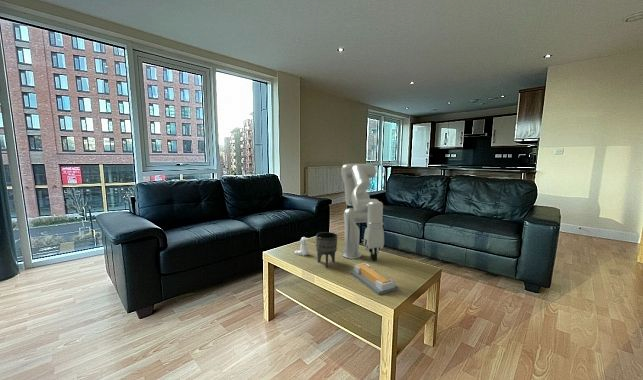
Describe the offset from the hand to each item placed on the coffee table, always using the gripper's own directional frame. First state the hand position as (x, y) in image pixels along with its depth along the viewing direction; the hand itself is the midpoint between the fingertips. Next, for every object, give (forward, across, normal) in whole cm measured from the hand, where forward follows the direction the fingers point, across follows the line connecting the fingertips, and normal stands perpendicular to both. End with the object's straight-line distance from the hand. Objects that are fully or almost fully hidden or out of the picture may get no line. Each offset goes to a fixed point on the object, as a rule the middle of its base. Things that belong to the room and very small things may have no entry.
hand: (373, 260), depth 132 cm
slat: (+10, 0, 0) cm, 10 cm away
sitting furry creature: (+11, +19, -51) cm, 55 cm away
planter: (+11, +12, -31) cm, 35 cm away
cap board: (+11, 0, -1) cm, 11 cm away
